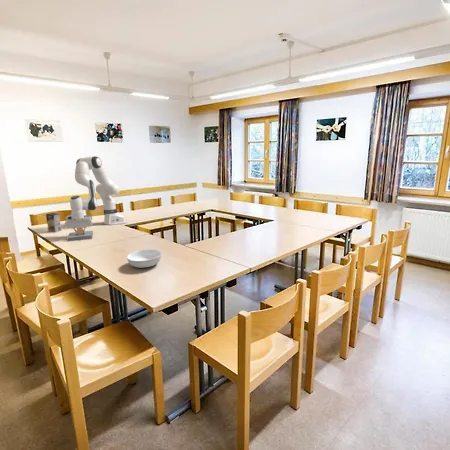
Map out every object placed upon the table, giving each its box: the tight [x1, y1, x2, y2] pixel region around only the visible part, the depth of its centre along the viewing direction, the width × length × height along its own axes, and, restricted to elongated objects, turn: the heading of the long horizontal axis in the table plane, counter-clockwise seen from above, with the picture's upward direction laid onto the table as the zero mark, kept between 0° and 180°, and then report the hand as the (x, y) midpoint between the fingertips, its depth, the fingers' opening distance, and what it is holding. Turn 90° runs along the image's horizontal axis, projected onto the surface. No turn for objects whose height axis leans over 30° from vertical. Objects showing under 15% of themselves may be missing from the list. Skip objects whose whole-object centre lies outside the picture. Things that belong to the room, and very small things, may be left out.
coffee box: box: [45, 212, 62, 233], centre depth 268 cm, size 9×6×16 cm
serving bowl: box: [126, 248, 162, 269], centre depth 187 cm, size 21×21×7 cm
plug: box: [76, 227, 84, 235], centre depth 248 cm, size 4×5×8 cm
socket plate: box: [66, 230, 94, 242], centre depth 249 cm, size 18×16×3 cm
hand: (80, 232), depth 248 cm, fingers open, 4 cm apart
